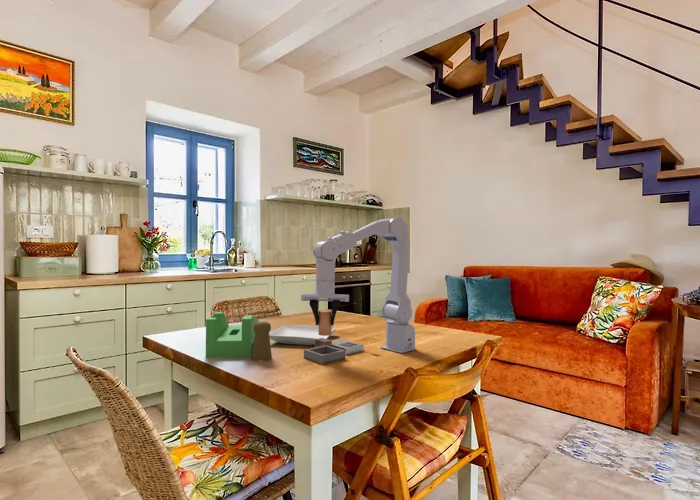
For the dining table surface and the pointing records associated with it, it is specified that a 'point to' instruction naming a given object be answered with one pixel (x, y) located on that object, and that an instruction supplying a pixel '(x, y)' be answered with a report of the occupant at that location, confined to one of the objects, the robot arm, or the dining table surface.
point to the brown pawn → (261, 342)
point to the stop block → (322, 342)
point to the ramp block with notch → (229, 336)
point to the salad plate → (297, 334)
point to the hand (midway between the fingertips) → (324, 324)
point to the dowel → (325, 323)
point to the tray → (324, 354)
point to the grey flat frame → (347, 346)
